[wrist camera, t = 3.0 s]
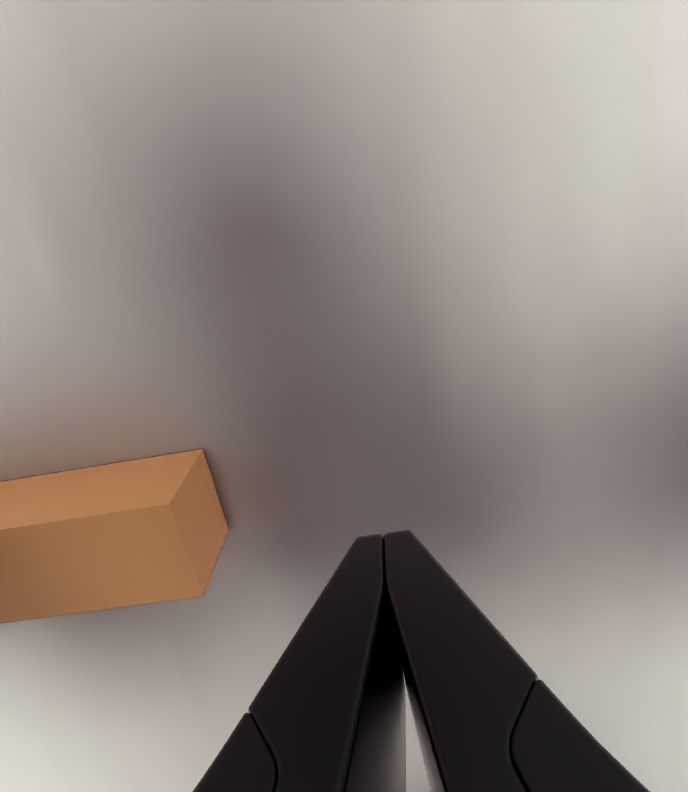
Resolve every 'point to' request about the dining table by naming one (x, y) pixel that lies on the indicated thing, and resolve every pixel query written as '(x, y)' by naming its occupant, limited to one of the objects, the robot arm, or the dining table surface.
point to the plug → (108, 536)
